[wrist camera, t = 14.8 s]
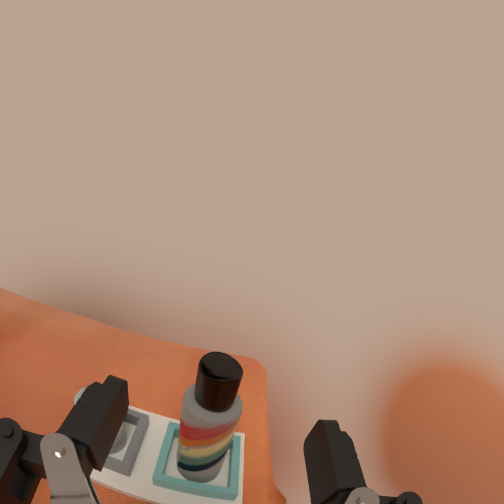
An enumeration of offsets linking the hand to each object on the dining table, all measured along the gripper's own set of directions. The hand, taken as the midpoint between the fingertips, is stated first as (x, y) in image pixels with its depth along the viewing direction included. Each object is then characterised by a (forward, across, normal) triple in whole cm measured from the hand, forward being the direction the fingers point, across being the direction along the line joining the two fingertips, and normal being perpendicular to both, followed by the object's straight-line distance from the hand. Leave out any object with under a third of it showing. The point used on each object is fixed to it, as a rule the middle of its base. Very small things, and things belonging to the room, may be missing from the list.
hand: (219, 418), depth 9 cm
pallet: (+11, +6, +27) cm, 30 cm away
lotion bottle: (+10, 0, +26) cm, 28 cm away
